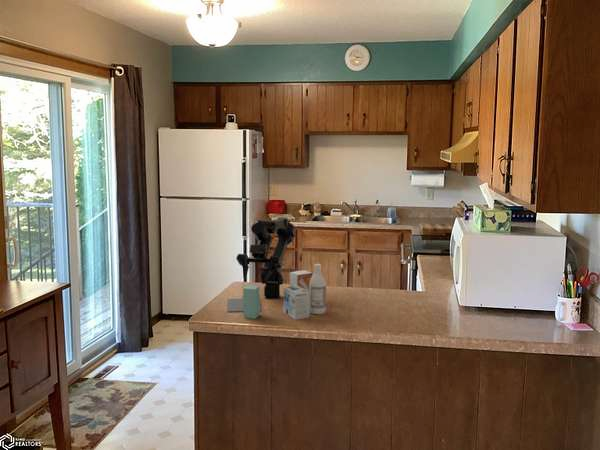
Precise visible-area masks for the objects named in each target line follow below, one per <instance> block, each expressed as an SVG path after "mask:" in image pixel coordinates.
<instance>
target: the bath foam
mask: <svg viewBox="0 0 600 450" xmlns="http://www.w3.org/2000/svg"><path fill="white" fill-rule="evenodd" d="M313 269H314V272H313V274H312V277H311V279H310V282H309V291H310V299H309V314H313V315H323V314H325V313H326V311H327V281H326V279H325V277H324V275H323V274H322V264H321V263H315V264H314V266H313Z"/></svg>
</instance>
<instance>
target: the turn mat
mask: <svg viewBox="0 0 600 450" xmlns="http://www.w3.org/2000/svg"><path fill="white" fill-rule="evenodd" d="M260 299H261V298H259V302H260V303H261V300H260ZM226 305H227V306H226V313H244V298H227V303H226ZM260 312H262V308H261V305H260Z"/></svg>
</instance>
